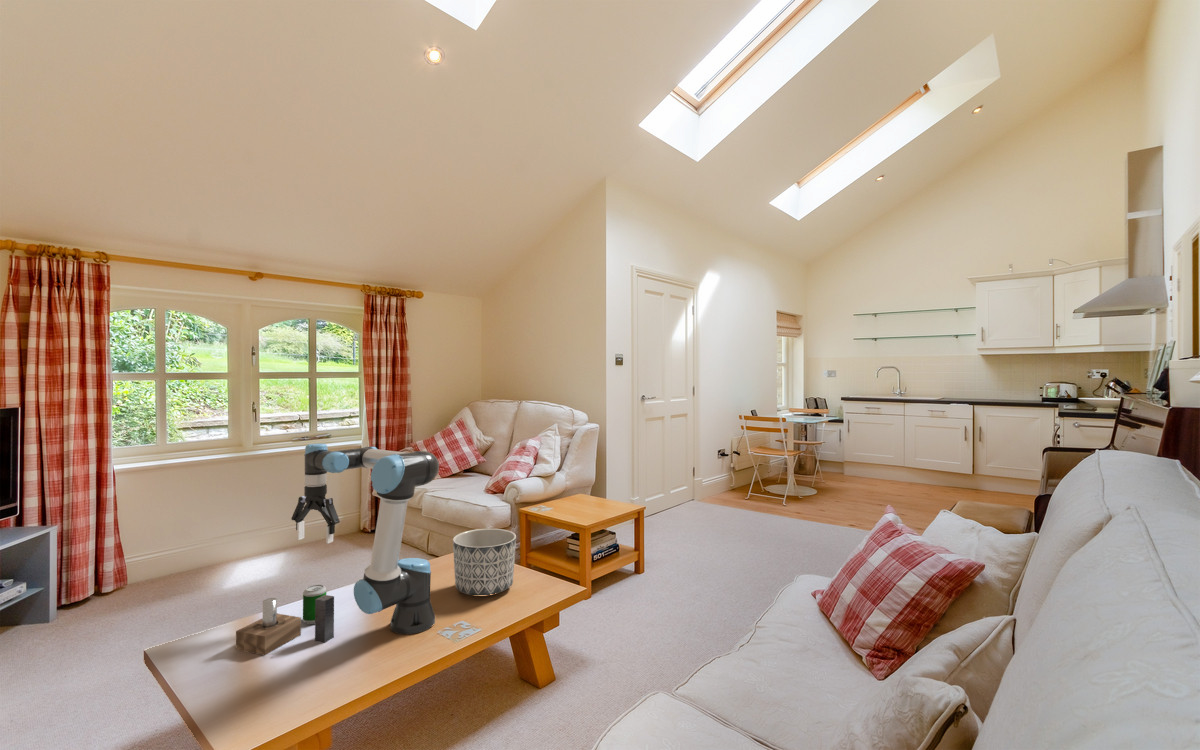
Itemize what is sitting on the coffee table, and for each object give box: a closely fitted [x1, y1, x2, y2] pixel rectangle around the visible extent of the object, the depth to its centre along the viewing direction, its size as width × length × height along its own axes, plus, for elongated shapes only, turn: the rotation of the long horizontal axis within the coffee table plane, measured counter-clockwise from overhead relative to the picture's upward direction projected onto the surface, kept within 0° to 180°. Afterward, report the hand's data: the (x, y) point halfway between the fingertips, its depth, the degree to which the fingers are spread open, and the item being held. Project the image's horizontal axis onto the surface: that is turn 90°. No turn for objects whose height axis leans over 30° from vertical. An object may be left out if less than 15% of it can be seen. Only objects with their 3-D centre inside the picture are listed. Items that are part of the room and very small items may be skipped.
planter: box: [452, 528, 517, 596], centre depth 223 cm, size 26×26×22 cm
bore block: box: [235, 613, 302, 656], centre depth 177 cm, size 12×14×6 cm
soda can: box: [302, 584, 327, 625], centre depth 193 cm, size 8×8×12 cm
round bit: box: [262, 597, 278, 628], centre depth 177 cm, size 4×4×14 cm
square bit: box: [314, 594, 335, 644], centre depth 180 cm, size 4×4×14 cm
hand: (315, 540), depth 201 cm, fingers open, 13 cm apart
